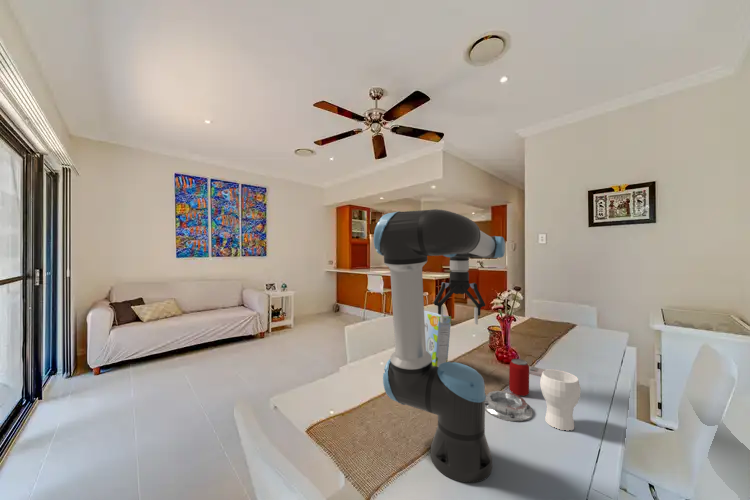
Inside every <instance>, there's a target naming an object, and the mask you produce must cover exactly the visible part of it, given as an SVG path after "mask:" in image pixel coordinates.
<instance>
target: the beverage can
mask: <svg viewBox="0 0 750 500" xmlns="http://www.w3.org/2000/svg"><path fill="white" fill-rule="evenodd" d="M508 367H509V372H508V373H509V379H508V382H509V383H508V384H509V387H508V388H509V392H510V393H513V394H515V395H518V396H520V397H524V396H527V395H529V394H530V374H529V365H528V361H526V360H525V359H521V358H512V359H511V361H510V362H509V366H508Z"/></svg>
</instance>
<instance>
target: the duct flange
mask: <svg viewBox="0 0 750 500" xmlns="http://www.w3.org/2000/svg"><path fill="white" fill-rule="evenodd" d="M533 412H534V411H533V409H532V407H531V406H530V404H528V403H527V402H526V400H525V399H524V398H523V397H522V396H518V395H515V394H514V393H512V392H511V391H504V390H493V391H489V392H488V393H487V394H486V399H485V413H488V414H490V415H491V416H493V417H495V418H497V419H500V420H503V421H507V422H508V421H509V422H515V423H517V422H518V423H520V422H526V421H529V420H531V418H532V417H533Z"/></svg>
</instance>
